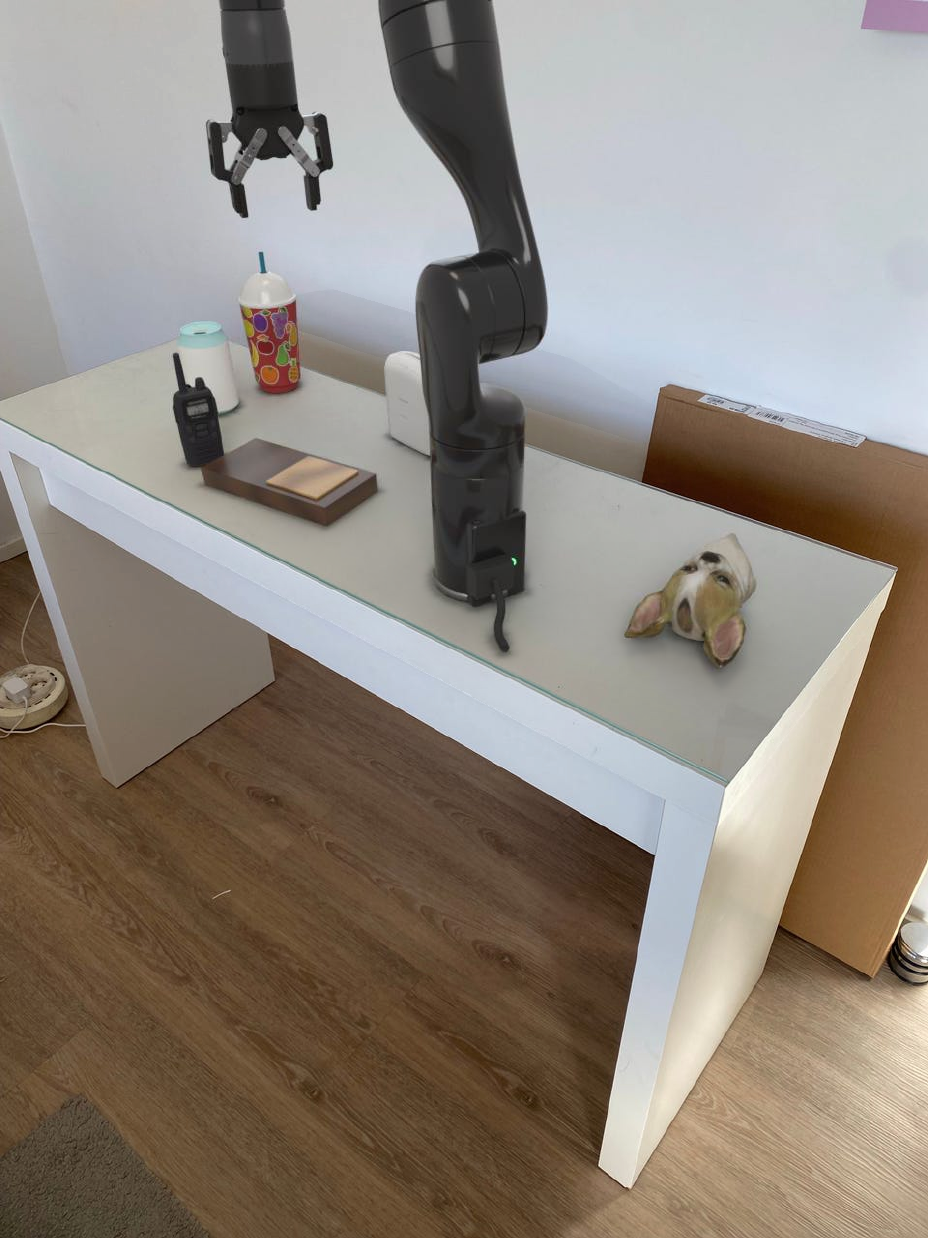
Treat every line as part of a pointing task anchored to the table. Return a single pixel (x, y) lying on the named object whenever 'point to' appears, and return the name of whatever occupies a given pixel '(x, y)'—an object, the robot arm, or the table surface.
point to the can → (209, 361)
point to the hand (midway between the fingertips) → (278, 212)
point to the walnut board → (290, 480)
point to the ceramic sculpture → (702, 601)
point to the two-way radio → (196, 419)
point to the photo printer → (406, 401)
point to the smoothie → (271, 330)
